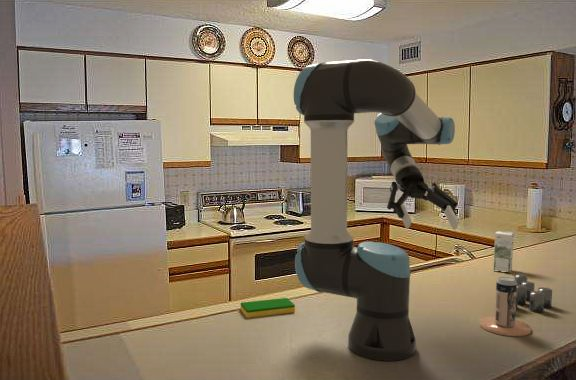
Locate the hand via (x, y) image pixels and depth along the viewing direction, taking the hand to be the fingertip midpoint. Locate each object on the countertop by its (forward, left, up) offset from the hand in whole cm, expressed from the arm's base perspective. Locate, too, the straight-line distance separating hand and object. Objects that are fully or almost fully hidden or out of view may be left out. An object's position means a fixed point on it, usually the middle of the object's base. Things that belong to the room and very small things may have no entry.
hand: (432, 225), depth 128 cm
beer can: (+14, -12, -24) cm, 31 cm away
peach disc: (+14, -12, -25) cm, 31 cm away
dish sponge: (-39, +20, -26) cm, 51 cm away
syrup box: (+56, +32, -25) cm, 69 cm away
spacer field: (+34, +1, -25) cm, 42 cm away
